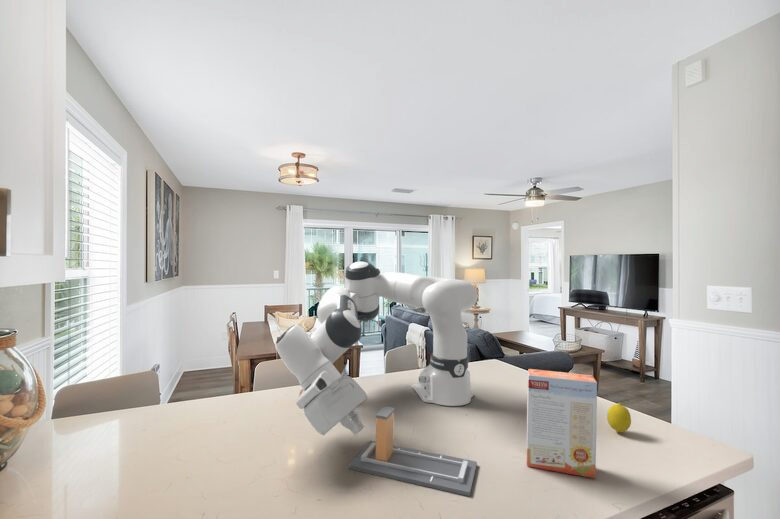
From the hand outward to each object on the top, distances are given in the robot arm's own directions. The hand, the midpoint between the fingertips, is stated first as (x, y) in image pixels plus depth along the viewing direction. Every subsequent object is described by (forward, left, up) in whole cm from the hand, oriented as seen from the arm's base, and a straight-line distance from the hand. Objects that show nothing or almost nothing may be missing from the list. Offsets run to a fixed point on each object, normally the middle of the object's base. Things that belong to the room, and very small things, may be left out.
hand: (359, 431), depth 89 cm
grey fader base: (+9, +10, -6) cm, 14 cm away
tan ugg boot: (-38, 0, -6) cm, 39 cm away
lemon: (+13, +70, -6) cm, 71 cm away
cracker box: (+20, +41, -6) cm, 46 cm away
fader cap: (+4, +5, -6) cm, 8 cm away
